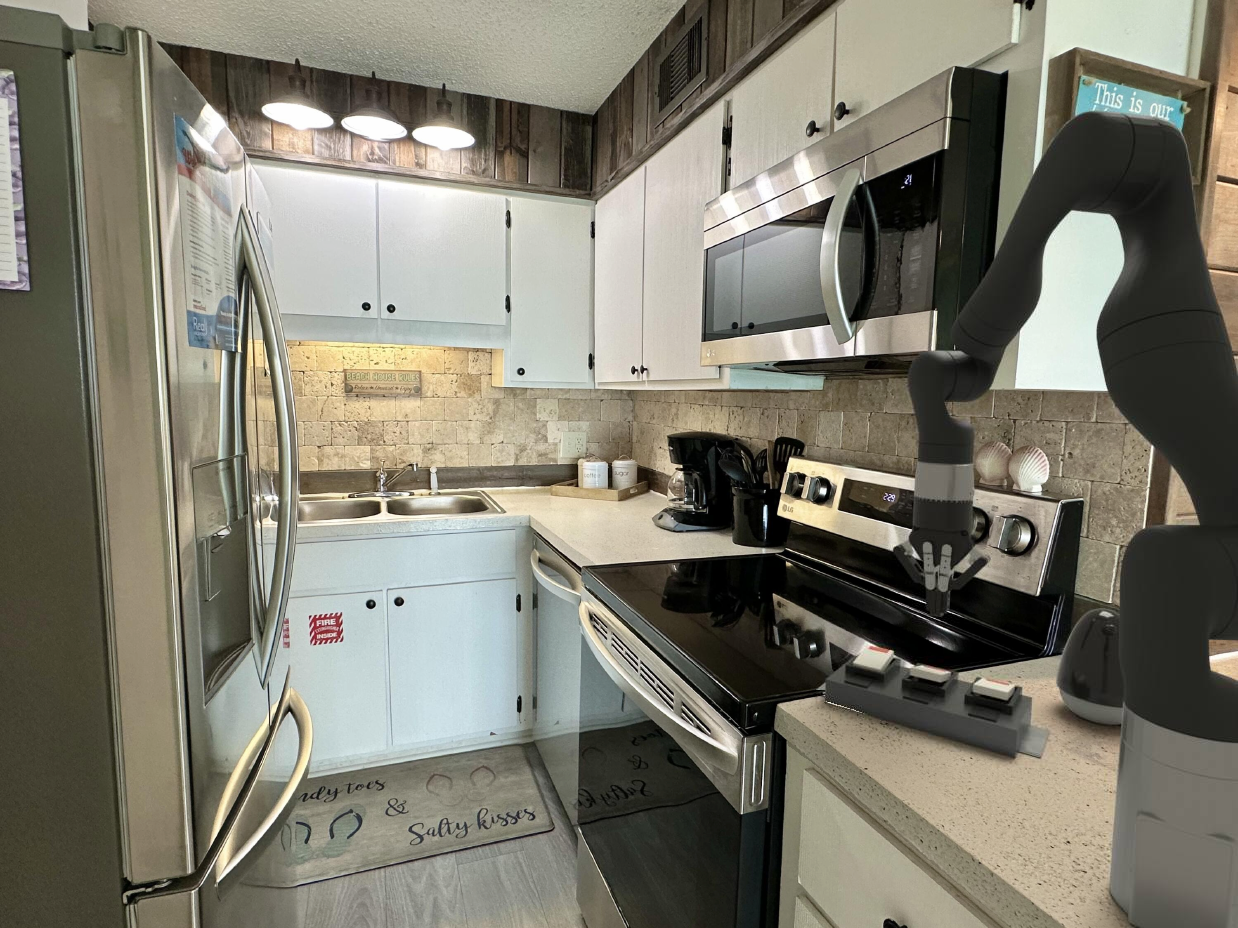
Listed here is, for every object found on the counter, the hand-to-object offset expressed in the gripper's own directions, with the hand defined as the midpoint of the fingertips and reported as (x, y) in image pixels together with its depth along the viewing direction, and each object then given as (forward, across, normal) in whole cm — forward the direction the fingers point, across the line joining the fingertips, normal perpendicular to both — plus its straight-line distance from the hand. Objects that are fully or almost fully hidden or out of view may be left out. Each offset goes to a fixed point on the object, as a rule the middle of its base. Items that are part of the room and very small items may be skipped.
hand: (937, 614), depth 97 cm
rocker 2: (+8, +8, -2) cm, 12 cm away
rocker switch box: (+13, 0, -4) cm, 14 cm away
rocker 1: (+8, -8, -2) cm, 11 cm away
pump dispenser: (+13, +19, +10) cm, 25 cm away
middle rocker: (+8, 0, -2) cm, 8 cm away
